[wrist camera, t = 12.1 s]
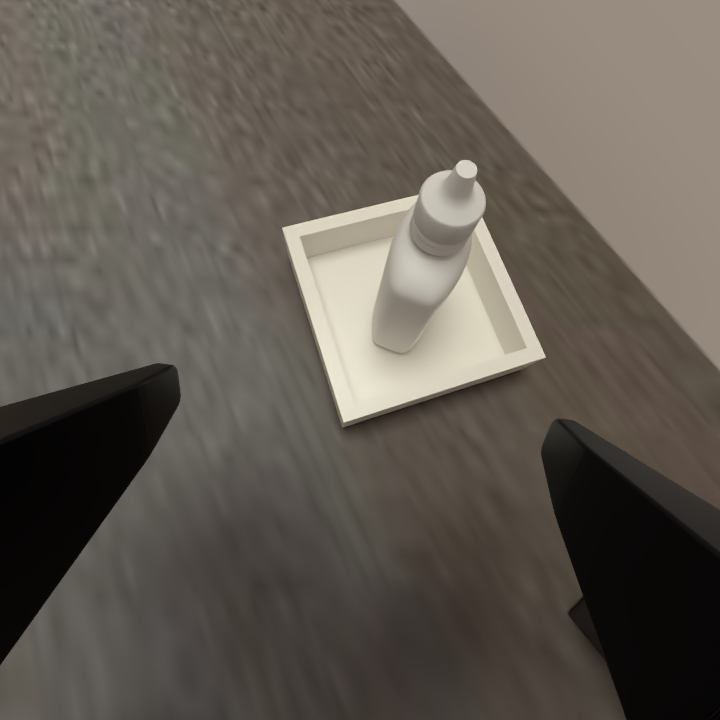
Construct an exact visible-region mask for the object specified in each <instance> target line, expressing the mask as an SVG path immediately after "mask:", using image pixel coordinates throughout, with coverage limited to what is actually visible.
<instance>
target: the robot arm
mask: <svg viewBox="0 0 720 720" xmlns="http://www.w3.org/2000/svg"><path fill="white" fill-rule="evenodd" d="M180 397H181V394H180V386H179V378H178V371H177V368H176V367H175V366H173V365H169V364H161V363H157V364H153V365H149V366H145V367H142V368H138V369H135V370H131V371H128V372H124V373H120V374H117V375H113V376H110V377H106V378H102V379H99V380H95V381H92V382H88V383H84V384H81V385H77V386H74V387H70V388H66V389H63V390H59V391H56V392H52V393H48V394H45V395H41V396H38V397H34V398H31V399H27V400H23V401H20V402H16V403H13V404H9V405H5V406H2V407H0V665H1V663H2V662H3V661H4V659H5V658H6V656H7V655H8V654H9V652H10V651H11V649H12V648H13V647H14V645H15V644H16V642H17V641H18V640H19V638H20V637H21V635H22V634H23V633H24V631H25V630H26V629H27V627H28V626H29V624H30V623H31V622H32V620H33V619H34V617H35V616H36V615H37V613H38V612H39V610H40V609H41V608H42V606H43V605H44V603H45V602H46V601H47V599H48V598H49V596H50V595H51V594H52V592H53V591H54V589H55V588H56V587H57V585H58V584H59V582H60V581H61V580H62V578H63V577H64V575H65V574H66V573H67V571H68V570H69V568H70V567H71V566H72V564H73V563H74V561H75V560H76V559H77V557H78V556H79V554H80V553H81V552H82V550H83V549H84V547H85V546H86V545H87V543H88V542H89V540H90V539H91V538H92V536H93V535H94V533H95V532H96V531H97V529H98V528H99V526H100V525H101V524H102V522H103V521H104V519H105V518H106V517H107V515H108V514H109V512H110V511H111V510H112V508H113V507H114V505H115V504H116V503H117V501H118V500H119V498H120V497H121V496H122V494H123V493H124V491H125V490H126V489H127V487H128V486H129V484H130V483H131V482H132V480H133V479H134V477H135V476H136V475H137V473H138V472H139V470H140V469H141V468H142V466H143V465H144V463H145V462H146V460H147V459H148V457H149V456H150V454H151V453H152V451H153V449H154V448H155V446H156V444H157V443H158V441H159V439H160V437H161V435H162V434H163V432H164V430H165V428H166V426H167V425H168V423H169V421H170V419H171V418H172V416H173V414H174V412H175V410H176V409H177V407H178V405H179V402H180ZM541 456H542V461H543V465H544V470H545V474H546V479H547V483H548V487H549V492H550V496H551V501H552V505H553V509H554V513H555V516H556V519H557V522H558V525H559V528H560V531H561V534H562V537H563V540H564V542H565V545H566V548H567V551H568V554H569V557H570V560H571V562H572V565H573V568H574V571H575V574H576V577H577V580H578V582H579V585H580V588H581V591H582V594H583V597H584V600H585V602H586V605H587V608H588V611H589V614H590V617H591V620H592V622H593V625H594V628H595V631H596V634H597V637H598V640H599V642H600V645H601V648H602V651H603V654H604V657H605V660H606V662H607V665H608V668H609V671H610V674H611V677H612V680H613V682H614V685H615V688H616V691H617V694H618V697H619V700H620V702H621V705H622V708H623V711H624V714H625V717H626V720H720V510H719V509H718V508H716V507H714V506H713V505H711V504H710V503H708V502H706V501H705V500H703V499H701V498H700V497H698V496H696V495H695V494H693V493H692V492H690V491H688V490H687V489H685V488H683V487H682V486H680V485H678V484H677V483H675V482H674V481H672V480H670V479H669V478H667V477H665V476H664V475H662V474H661V473H659V472H657V471H656V470H654V469H652V468H651V467H649V466H647V465H646V464H644V463H643V462H641V461H639V460H638V459H636V458H634V457H633V456H631V455H629V454H628V453H626V452H625V451H623V450H621V449H620V448H618V447H616V446H615V445H613V444H611V443H610V442H608V441H607V440H605V439H603V438H602V437H600V436H598V435H597V434H595V433H593V432H592V431H590V430H589V429H587V428H585V427H584V426H582V425H580V424H579V423H577V422H575V421H573V420H567V419H560V418H557V419H555V420H553V421H552V423H551V425H550V427H549V430H548V432H547V435H546V437H545V440H544V442H543V445H542V449H541Z"/></svg>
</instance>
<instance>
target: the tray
mask: <svg viewBox="0 0 720 720" xmlns="http://www.w3.org/2000/svg"><path fill="white" fill-rule="evenodd" d="M418 196H419V195H416V196H412V197H408V198H403V199H399V200H395V201H391V202H387V203H383V204H379V205H374V206H370V207H366V208H362V209H358V210H354V211H350V212H345V213H341V214H337V215H333V216H329V217H325V218H321V219H316V220H312V221H308V222H304V223H300V224H296V225H292V226H287V227H283V228H282V229H283V234H284V238H285V243H286V248H287V253H288V257H289V260H290V263H291V266H292V269H293V273H294V276H295V279H296V282H297V285H298V288H299V292H300V295H301V298H302V301H303V304H304V308H305V311H306V314H307V317H308V320H309V324H310V327H311V330H312V333H313V336H314V340H315V343H316V346H317V349H318V352H319V356H320V359H321V362H322V365H323V368H324V372H325V375H326V378H327V381H328V384H329V388H330V391H331V394H332V397H333V400H334V404H335V407H336V410H337V413H338V416H339V420H340V423H341V426H342V428H344V427H347V426H350V425H353V424H356V423H359V422H362V421H365V420H368V419H371V418H374V417H377V416H380V415H384V414H387V413H390V412H393V411H396V410H399V409H402V408H405V407H408V406H411V405H414V404H417V403H420V402H424V401H427V400H430V399H433V398H436V397H439V396H442V395H445V394H448V393H451V392H454V391H457V390H460V389H464V388H467V387H470V386H473V385H476V384H479V383H482V382H485V381H488V380H491V379H494V378H497V377H500V376H504V375H507V374H510V373H513V372H516V371H519V370H521V369H523V368H525V367H527V366H529V365H531V364H533V363H535V362H537V361H539V360H542V359H544V358H546V356H545V354H544V352H543V350H542V348H541V345H540V343H539V341H538V339H537V337H536V334H535V332H534V330H533V328H532V326H531V323H530V321H529V319H528V317H527V315H526V312H525V310H524V308H523V306H522V304H521V301H520V299H519V297H518V295H517V293H516V290H515V288H514V286H513V284H512V282H511V279H510V277H509V275H508V273H507V271H506V269H505V266H504V264H503V262H502V260H501V258H500V255H499V253H498V251H497V249H496V247H495V244H494V242H493V240H492V238H491V236H490V233H489V231H488V229H487V227H486V225H485V222H484V220H483V218H482V217H481V219H480V221H479V222H478V224H477V226H476V227H475V229H474V231H473V232H472V245H471V250H470V254H469V258H468V261H467V264H466V266H465V269H464V271H463V273H462V275H461V277H460V279H459V281H458V282H457V284H456V286H455V287H454V289H453V290H452V292H451V293H450V295H449V296H448V298H447V299H446V301H445V302H444V304H443V305H442V307H441V308H440V309H439V311H438V312H437V314H436V315H435V317H434V318H433V320H432V321H431V322H430V324H429V325H428V327H427V328H426V330H425V331H424V332H423V334H422V335H421V337H420V338H419V340H418V341H417V342H416V343H415V345H414V346H413V347H412V348H411V349H410V350H409V351H407V352H405V353H398V352H395V351H393V350H390V349H387V348H384V347H382V346H379V345H378V344H376V343H375V342H374V340H373V338H372V315H373V309H374V305H375V301H376V298H377V294H378V290H379V286H380V283H381V279H382V275H383V271H384V268H385V264H386V260H387V257H388V253H389V249H390V246H391V242H392V239H393V237H394V234H395V232H396V229H397V227H398V225H399V223H400V222H401V220H402V218H403V217H404V215H405V214H406V213H407V211H408V210H409V209H410V208H411V207H412V206H413V205H414V204H415V203H416V202H417V199H418Z"/></svg>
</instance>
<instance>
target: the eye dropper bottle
mask: <svg viewBox="0 0 720 720" xmlns="http://www.w3.org/2000/svg"><path fill="white" fill-rule="evenodd" d="M476 174H477V167H476V165H475V164H474V163H473V162H471V161H469V160H462V161H460V162H458V163H457V165H456V166H455V168H454V169H453V170H452V171H451V170H447V171H441V172H438V173H435V174H433V175H432V176H430V177H429V178H427V180H425V182H424V183H423V185H422V187H421V189H420V192H419V196H418V199H417V202H416V203H415V204H414V205H413V206H412V207H411V208H410V209H409V210H408V211H407V213H406V214H405V215H404V217H403V218H402V220H401V222H400V223H399V225H398V227H397V229H396V232H395V234H394V237H393V239H392V242H391V246H390V249H389V253H388V257H387V260H386V264H385V268H384V271H383V275H382V279H381V283H380V286H379V290H378V294H377V298H376V301H375V305H374V309H373V315H372V338H373V340H374V342H375V343H376V344H378V345H379V346H382V347H384V348H387V349H390V350H393V351H395V352H398V353H405V352H407V351H409V350H410V349H411V348H412V347H413V346H414V345H415V343H416V342H417V341H418V340H419V338H420V337H421V335H422V334H423V332H424V331H425V330H426V328H427V327H428V325H429V324H430V322H431V321H432V320H433V318H434V317H435V315H436V314H437V312H438V311H439V309H440V308H441V307H442V305H443V304H444V302H445V301H446V299H447V298H448V296H449V295H450V293H451V292H452V290H453V289H454V287H455V286H456V284H457V282H458V281H459V279H460V277H461V275H462V273H463V271H464V269H465V266H466V264H467V261H468V258H469V254H470V250H471V245H472V232H473V231H474V229H475V227H476V226H477V224H478V222H479V221H480V219H481V217H482V216H483V214H484V211H485V207H486V199H485V198H486V197H485V194H484V191H483V190H482V188H481V186H480V185H479V184H478V183H477V182H476V181H475V179H476Z"/></svg>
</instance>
